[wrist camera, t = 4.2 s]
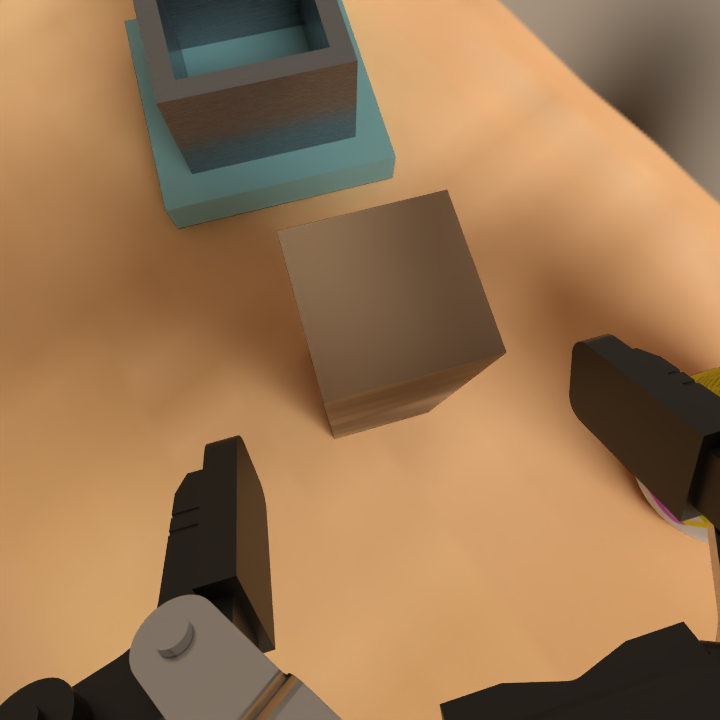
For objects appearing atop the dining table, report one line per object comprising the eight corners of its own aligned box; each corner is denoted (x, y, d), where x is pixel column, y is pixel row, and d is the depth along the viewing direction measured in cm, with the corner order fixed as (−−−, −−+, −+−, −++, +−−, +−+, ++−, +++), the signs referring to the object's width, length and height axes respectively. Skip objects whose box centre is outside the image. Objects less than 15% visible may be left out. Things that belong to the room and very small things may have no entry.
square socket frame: (192, 174, 20) (156, 103, 17) (160, 39, 22) (121, -55, 18) (355, 136, 21) (357, 60, 17) (313, 8, 23) (307, -89, 19)
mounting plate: (177, 228, 22) (165, 210, 20) (138, 49, 24) (124, 21, 22) (392, 177, 22) (395, 156, 21) (335, 9, 25) (334, -21, 23)
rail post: (334, 438, 20) (323, 403, 10) (309, 346, 20) (276, 231, 11) (428, 412, 20) (506, 352, 10) (399, 323, 21) (447, 190, 11)
